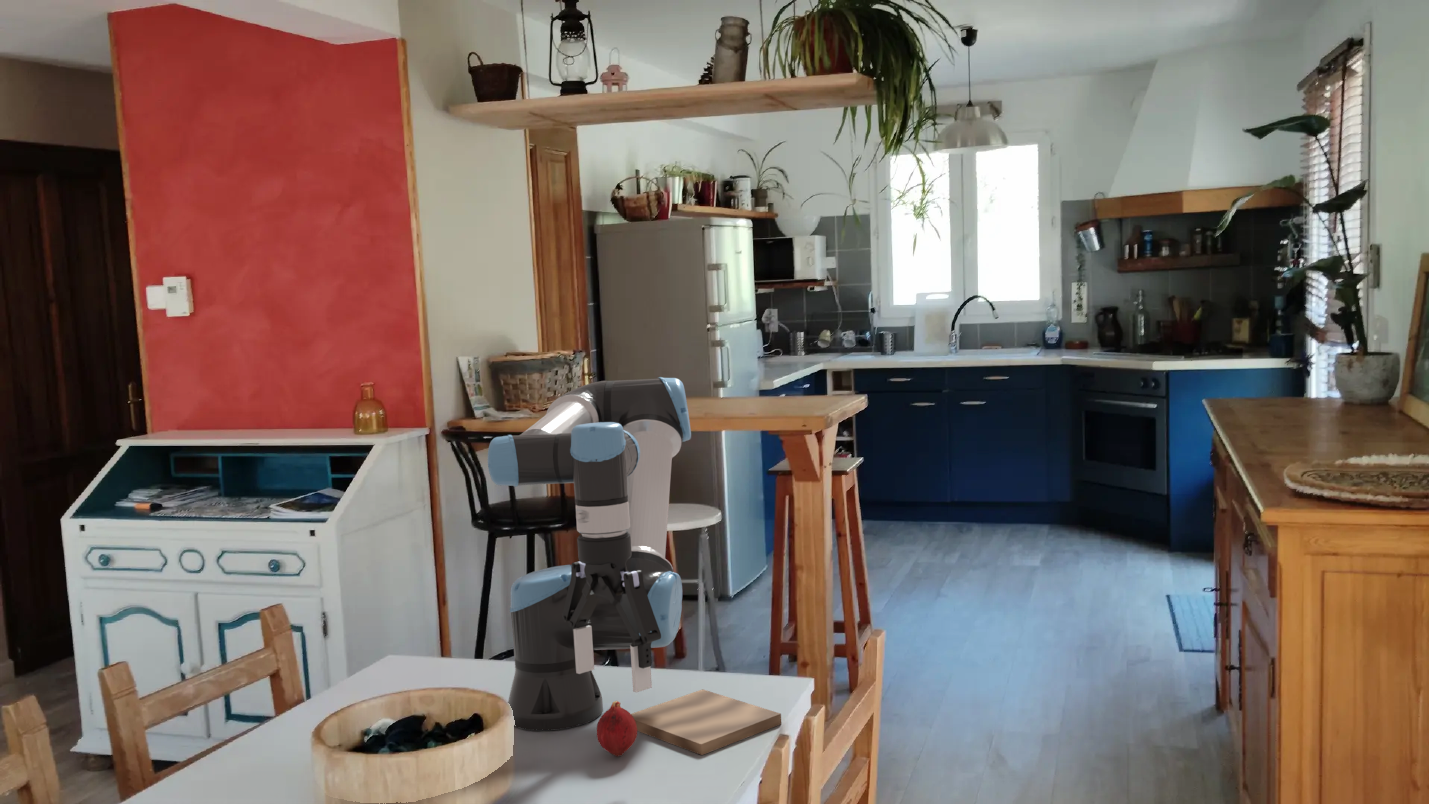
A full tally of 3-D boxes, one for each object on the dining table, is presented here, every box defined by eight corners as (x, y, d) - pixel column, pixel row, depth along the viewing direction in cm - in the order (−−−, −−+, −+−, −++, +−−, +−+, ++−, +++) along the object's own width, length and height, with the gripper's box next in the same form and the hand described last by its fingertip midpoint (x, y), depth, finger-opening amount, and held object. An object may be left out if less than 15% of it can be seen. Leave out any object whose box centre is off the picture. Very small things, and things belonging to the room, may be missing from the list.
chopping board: (624, 726, 178) (624, 716, 178) (703, 698, 189) (702, 689, 189) (701, 755, 165) (701, 744, 164) (781, 723, 175) (780, 713, 175)
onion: (632, 764, 163) (628, 709, 162) (593, 763, 164) (589, 708, 163) (643, 749, 168) (639, 695, 168) (605, 748, 170) (601, 694, 169)
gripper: (532, 528, 170) (542, 670, 172) (636, 546, 152) (646, 705, 153) (574, 520, 175) (583, 658, 177) (680, 537, 157) (689, 690, 158)
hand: (613, 680), depth 165 cm, fingers open, 13 cm apart
